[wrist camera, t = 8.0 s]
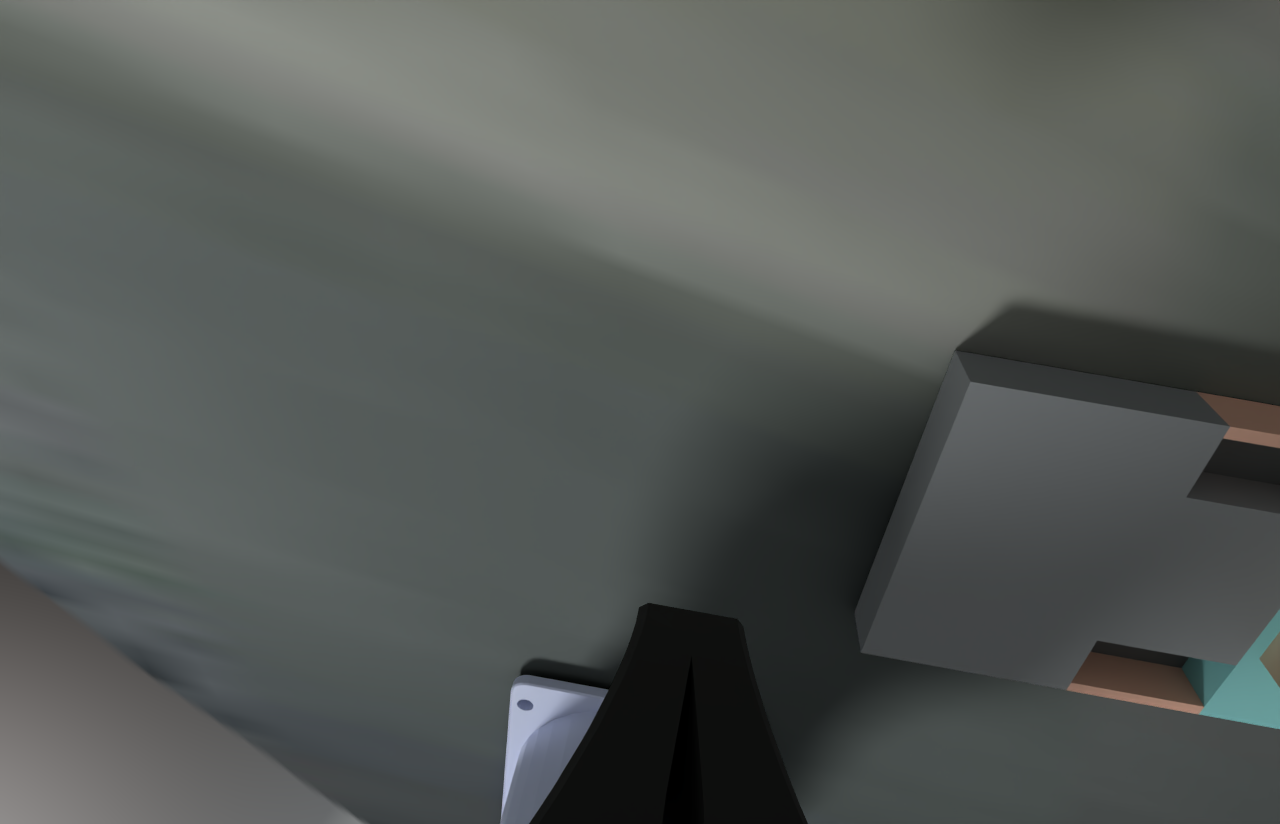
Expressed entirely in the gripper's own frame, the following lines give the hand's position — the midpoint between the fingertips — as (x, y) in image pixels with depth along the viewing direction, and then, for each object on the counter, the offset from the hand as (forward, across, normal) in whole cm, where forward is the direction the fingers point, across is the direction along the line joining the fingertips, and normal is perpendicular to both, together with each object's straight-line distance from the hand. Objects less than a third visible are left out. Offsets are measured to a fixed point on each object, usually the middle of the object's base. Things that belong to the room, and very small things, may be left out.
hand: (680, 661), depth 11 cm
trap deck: (+9, -12, +3) cm, 16 cm away
